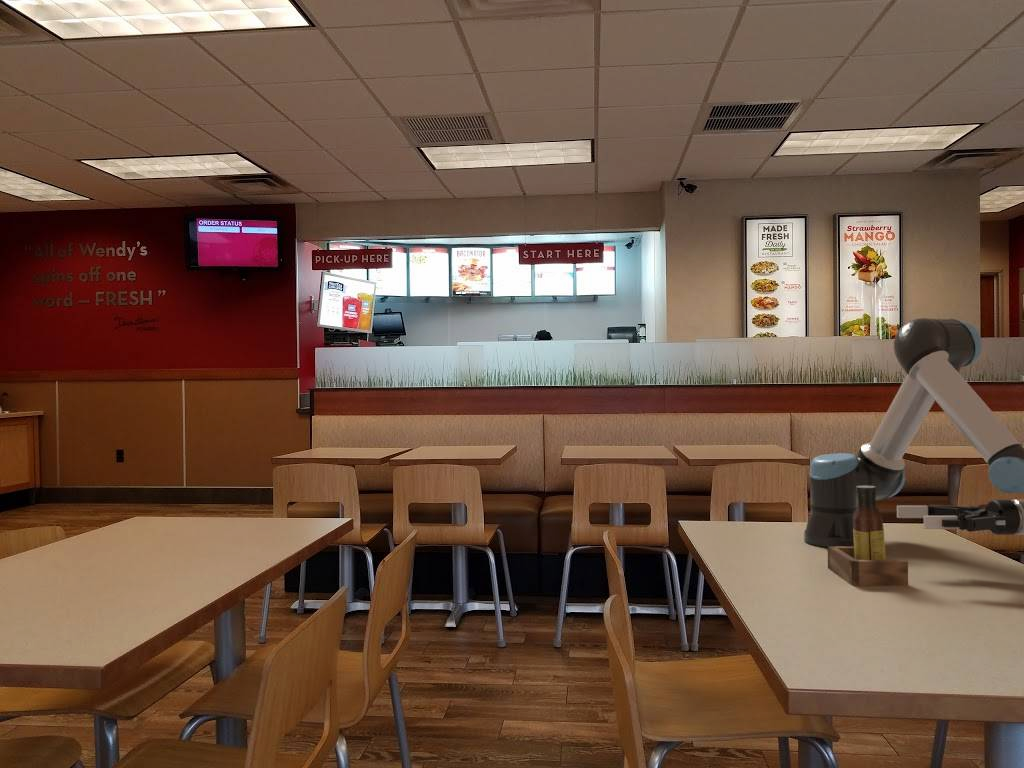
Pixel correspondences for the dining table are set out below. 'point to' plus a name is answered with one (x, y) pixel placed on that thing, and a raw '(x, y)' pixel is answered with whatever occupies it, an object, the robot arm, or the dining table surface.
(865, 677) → the dining table surface
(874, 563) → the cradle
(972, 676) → the dining table surface
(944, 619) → the dining table surface
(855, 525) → the sauce bottle
